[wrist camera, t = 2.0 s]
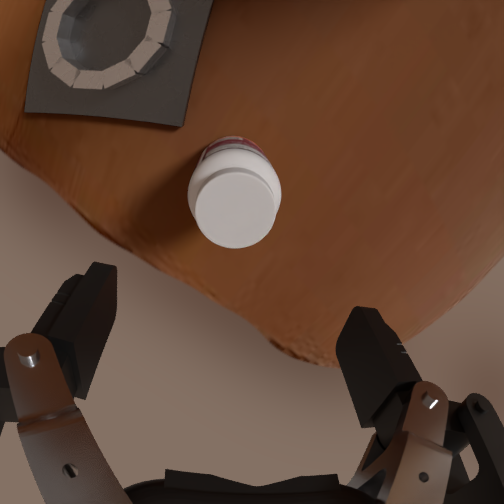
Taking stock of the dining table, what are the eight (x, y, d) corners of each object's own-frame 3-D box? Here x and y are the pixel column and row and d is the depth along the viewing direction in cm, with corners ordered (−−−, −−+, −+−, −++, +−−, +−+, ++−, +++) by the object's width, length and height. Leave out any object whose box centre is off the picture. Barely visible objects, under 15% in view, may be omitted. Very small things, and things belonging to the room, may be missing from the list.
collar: (226, -38, 19) (225, -54, 16) (183, 125, 26) (177, 130, 23) (64, -38, 16) (48, -48, 13) (29, 111, 23) (9, 115, 20)
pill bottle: (238, 214, 30) (243, 278, 20) (184, 175, 28) (159, 223, 18) (282, 163, 28) (311, 204, 18) (227, 120, 26) (224, 136, 16)
